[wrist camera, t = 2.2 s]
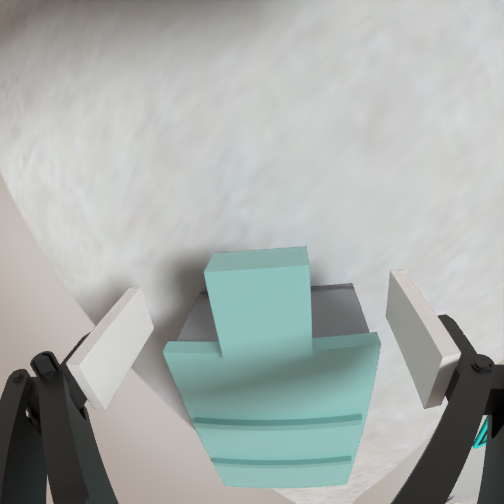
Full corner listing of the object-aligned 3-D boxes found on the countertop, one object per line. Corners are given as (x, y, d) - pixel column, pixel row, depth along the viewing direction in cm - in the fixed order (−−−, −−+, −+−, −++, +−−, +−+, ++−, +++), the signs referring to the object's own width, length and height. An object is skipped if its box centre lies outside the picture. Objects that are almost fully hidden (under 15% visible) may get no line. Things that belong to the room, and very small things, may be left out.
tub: (199, 292, 22) (174, 345, 17) (352, 283, 21) (371, 336, 15) (237, 431, 29) (229, 477, 24) (339, 428, 27) (343, 474, 22)
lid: (151, 254, 16) (130, 276, 13) (378, 236, 14) (394, 258, 12) (228, 469, 25) (224, 490, 22) (345, 467, 23) (347, 488, 21)
